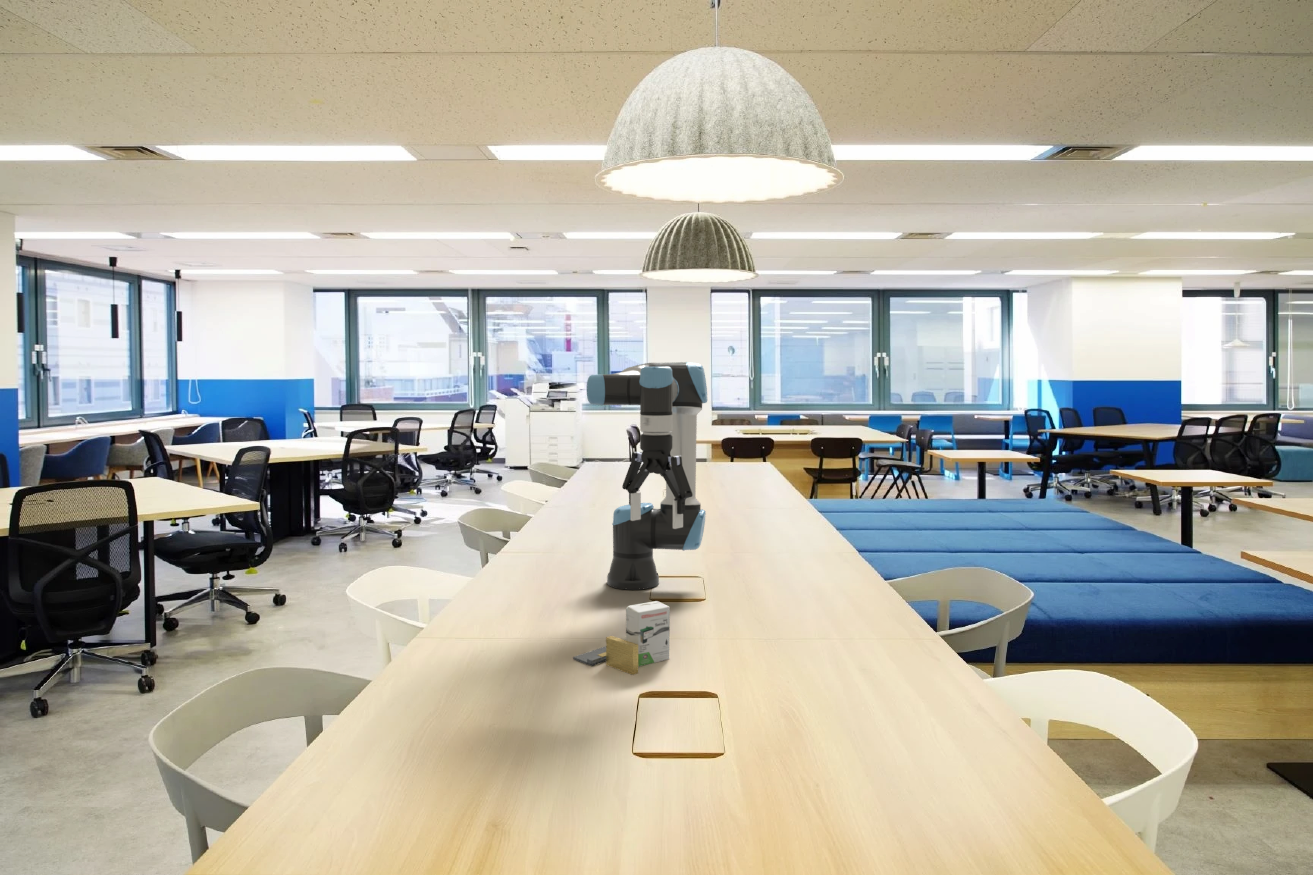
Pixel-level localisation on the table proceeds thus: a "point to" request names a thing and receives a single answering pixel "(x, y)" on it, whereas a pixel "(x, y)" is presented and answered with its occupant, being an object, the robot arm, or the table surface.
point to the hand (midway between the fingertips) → (656, 523)
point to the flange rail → (614, 655)
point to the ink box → (649, 631)
